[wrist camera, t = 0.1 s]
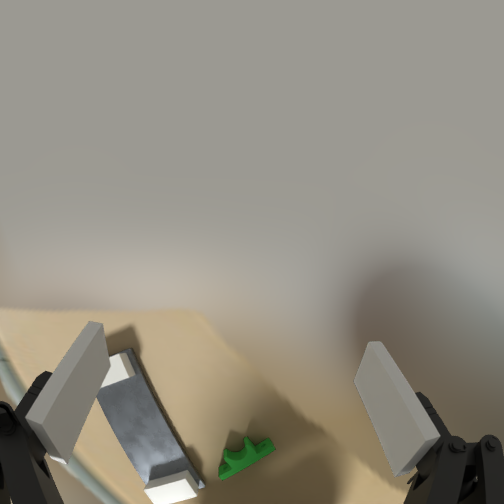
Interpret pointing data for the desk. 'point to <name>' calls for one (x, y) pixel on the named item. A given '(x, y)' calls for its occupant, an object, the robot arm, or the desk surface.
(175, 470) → the mounting rail
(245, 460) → the pipe clamp
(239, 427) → the desk surface
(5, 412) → the robot arm
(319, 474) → the desk surface
